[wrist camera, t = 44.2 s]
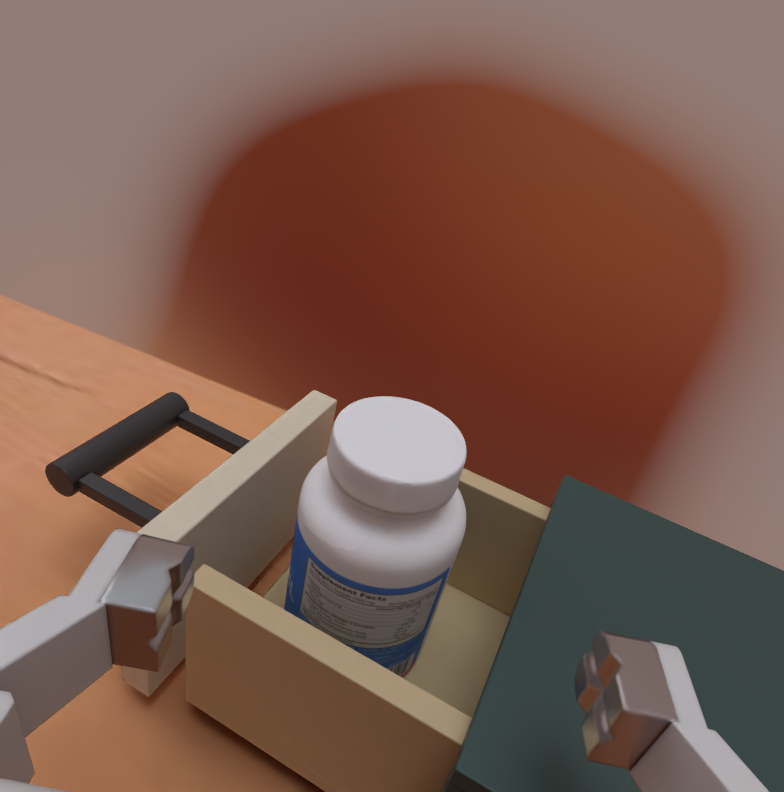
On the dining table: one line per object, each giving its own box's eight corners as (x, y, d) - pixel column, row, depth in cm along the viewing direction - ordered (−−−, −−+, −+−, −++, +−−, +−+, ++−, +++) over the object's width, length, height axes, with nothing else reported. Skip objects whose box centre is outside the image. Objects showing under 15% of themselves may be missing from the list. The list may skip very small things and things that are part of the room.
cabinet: (385, 898, 18) (454, 769, 13) (502, 606, 28) (564, 474, 23) (917, 1267, 14) (1263, 1259, 10) (836, 778, 24) (989, 660, 19)
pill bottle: (321, 554, 26) (358, 361, 20) (438, 608, 25) (510, 419, 19) (251, 658, 21) (273, 448, 16) (389, 730, 20) (464, 529, 15)
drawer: (0, 599, 22) (-35, 466, 19) (201, 449, 31) (204, 339, 27) (475, 918, 17) (553, 820, 14) (556, 632, 26) (617, 526, 22)
